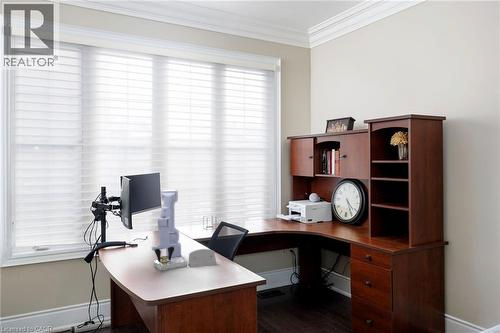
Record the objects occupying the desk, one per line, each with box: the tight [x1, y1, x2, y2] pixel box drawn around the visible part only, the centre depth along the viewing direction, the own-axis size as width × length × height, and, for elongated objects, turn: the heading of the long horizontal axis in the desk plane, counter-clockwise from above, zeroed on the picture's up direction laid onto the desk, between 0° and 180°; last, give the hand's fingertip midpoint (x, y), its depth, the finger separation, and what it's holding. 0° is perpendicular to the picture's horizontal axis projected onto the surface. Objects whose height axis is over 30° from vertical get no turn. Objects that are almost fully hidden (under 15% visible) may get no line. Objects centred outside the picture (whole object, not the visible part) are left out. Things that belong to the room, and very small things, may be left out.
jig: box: [153, 256, 188, 272], centre depth 217 cm, size 16×12×3 cm
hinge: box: [188, 248, 218, 268], centre depth 221 cm, size 17×5×10 cm, turn 109°
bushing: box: [160, 255, 168, 264], centre depth 216 cm, size 4×4×6 cm
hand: (164, 260), depth 215 cm, fingers open, 6 cm apart
